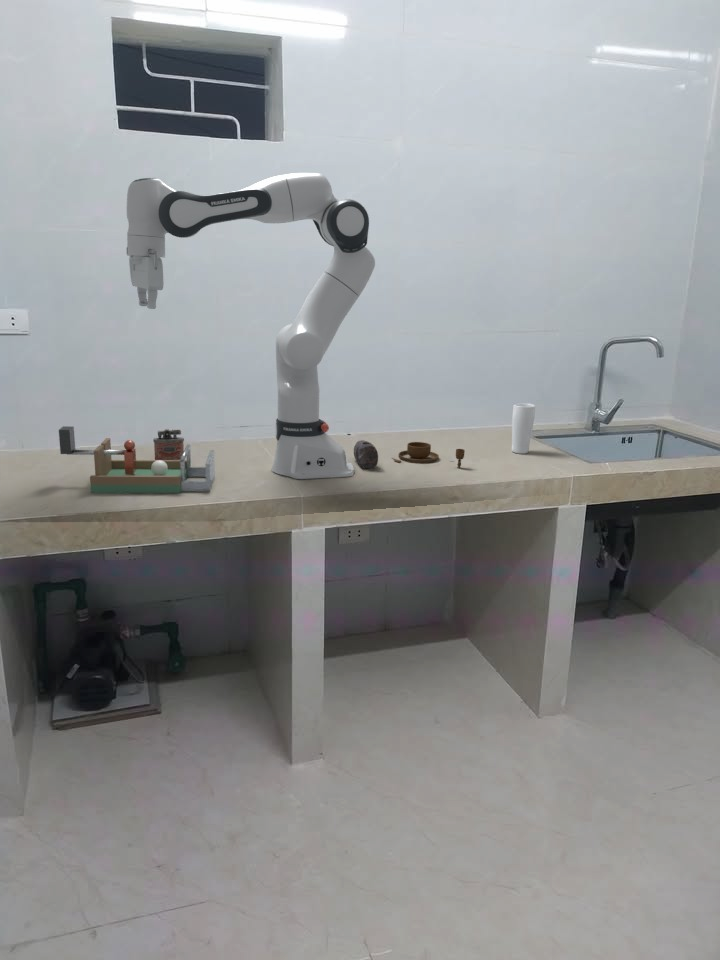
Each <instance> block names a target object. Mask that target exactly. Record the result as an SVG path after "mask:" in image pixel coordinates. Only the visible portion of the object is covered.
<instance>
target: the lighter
mask: <svg viewBox="0 0 720 960" xmlns="http://www.w3.org/2000/svg"><path fill="white" fill-rule="evenodd" d="M177 435H182V431H181V429H169V428H165V429H164V430H158V431H157V437H155V438H153V445H154V448H153V449H154V460H180V458H181V456H182V454H183V452H184V450H185V448H184V441H185V437H180V436H177ZM172 436H173V437H172Z"/></svg>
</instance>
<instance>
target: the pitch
mask: <svg viewBox="0 0 720 960" xmlns="http://www.w3.org/2000/svg"><path fill="white" fill-rule="evenodd" d="M111 446H112V444H111V438H110V437H109V438H107V437H105V438H104V440H103V441H102V442H101V443H100V445H98V446H97V447H96V448H95V449H93V450H94V455H93V459H94V472H95V473H94V475H90V476H89V481H90V493H91V494H96V493H97V494H99V493H100V494H106V493H107V494H113V493H115V494H131V493H132V494H139V493H140V494H142V493H143V494H160V493H161V494H167V493H168V494H173V493H174V494H175V493H176V494H177V493H178V494H181V493H182V492H181V467H180V460H162V461H164V462H165V463H166V464H167V467H168V470H167V472H166V474H164V475H163V476H156V475H155V474H153V472H152V470H151V466H152V464H153V463H154V462H155V461H157V460H155V459H136V471H135V473H134V474H125V460H124V459H112V455H104V450H112V447H111ZM187 478H188V477H187V459H185V481H187Z"/></svg>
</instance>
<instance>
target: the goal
mask: <svg viewBox="0 0 720 960" xmlns="http://www.w3.org/2000/svg"><path fill="white" fill-rule="evenodd" d="M185 460H187V478H205V480H186V481H185ZM180 467H181V493H183V492H193V493H194V492H196V493H197V492H199V493H200V492H202V493H204V492H205V493H206V492H209V493H210V492H211V490H212V487H213V483H214V480H215V477H216V475H215V473H216V472H215V450H213V449H210V450H209V452H208V455H207V459H206V461H205V464H204V466H192V459H191V444H189V443H188V444H187V445H185V448H184V452H183V454H182V456H181V458H180Z"/></svg>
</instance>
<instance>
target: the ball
mask: <svg viewBox="0 0 720 960" xmlns="http://www.w3.org/2000/svg"><path fill="white" fill-rule="evenodd" d="M151 470H152V472H153V474H155V475H156V476H163V475H164V474H166V472H167V470H168V467H167V464H166V463H165V462H164V461H162V460H157V461H155V462H154V463H153V464H152V466H151Z"/></svg>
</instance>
